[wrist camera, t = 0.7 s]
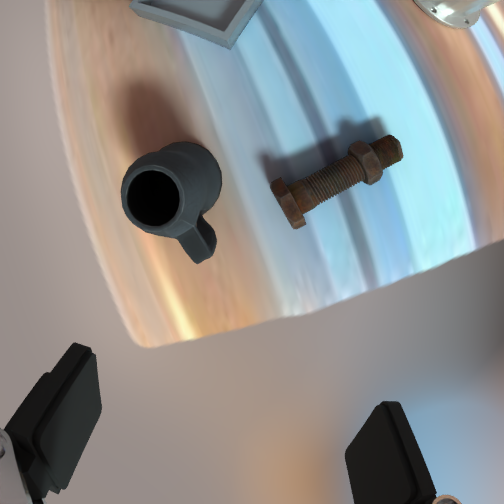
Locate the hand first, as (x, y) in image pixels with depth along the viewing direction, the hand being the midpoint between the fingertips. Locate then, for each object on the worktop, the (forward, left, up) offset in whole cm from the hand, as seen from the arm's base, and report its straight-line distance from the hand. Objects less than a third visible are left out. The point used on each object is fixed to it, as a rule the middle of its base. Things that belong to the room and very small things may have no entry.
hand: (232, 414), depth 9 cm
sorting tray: (-22, -17, -29) cm, 40 cm away
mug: (+1, -7, -29) cm, 30 cm away
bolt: (-9, +6, -29) cm, 31 cm away
